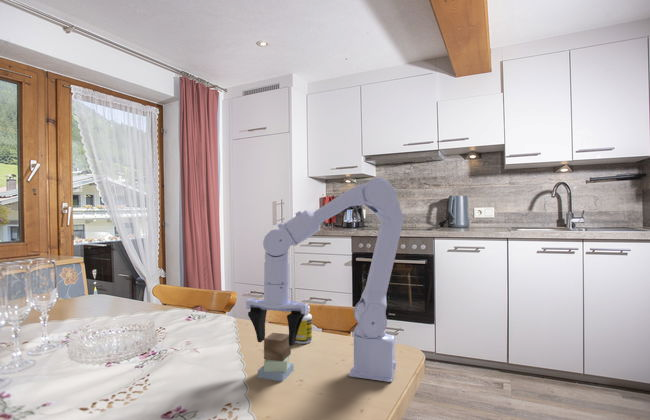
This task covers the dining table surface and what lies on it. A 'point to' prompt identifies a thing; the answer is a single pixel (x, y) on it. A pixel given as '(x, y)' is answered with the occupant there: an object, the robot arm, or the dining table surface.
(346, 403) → the dining table surface
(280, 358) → the walnut cube
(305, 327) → the supplement bottle
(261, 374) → the slate slab
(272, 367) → the sage block
